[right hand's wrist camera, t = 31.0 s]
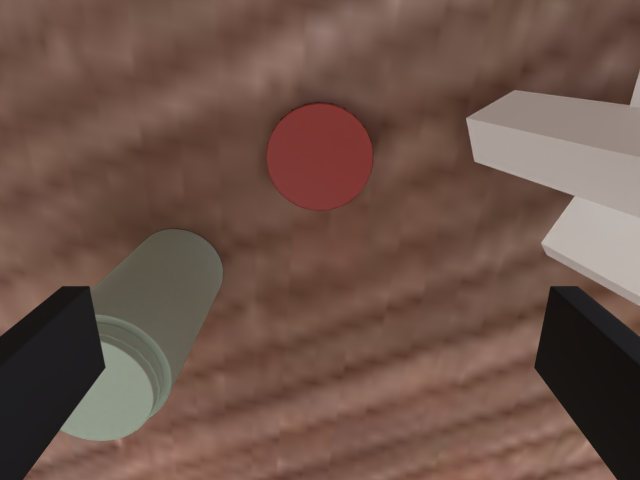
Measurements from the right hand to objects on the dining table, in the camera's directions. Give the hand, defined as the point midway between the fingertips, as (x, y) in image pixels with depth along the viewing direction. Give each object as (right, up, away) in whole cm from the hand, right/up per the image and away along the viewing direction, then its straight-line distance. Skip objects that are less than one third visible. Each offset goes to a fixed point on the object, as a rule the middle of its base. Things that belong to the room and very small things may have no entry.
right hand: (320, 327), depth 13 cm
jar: (-14, 0, +31) cm, 34 cm away
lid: (0, +10, +25) cm, 27 cm away
